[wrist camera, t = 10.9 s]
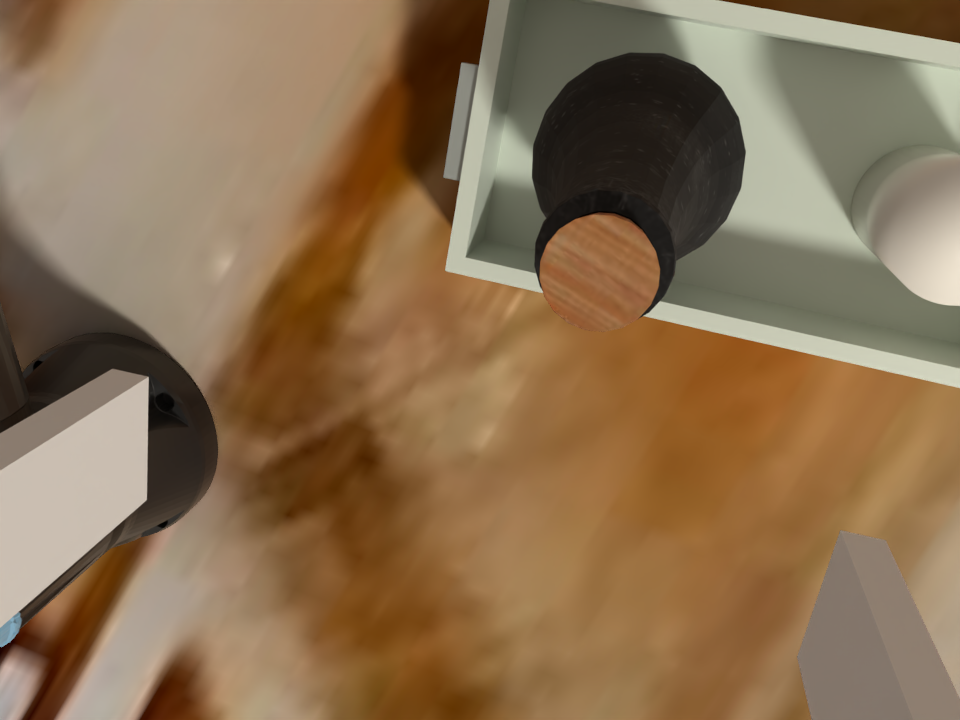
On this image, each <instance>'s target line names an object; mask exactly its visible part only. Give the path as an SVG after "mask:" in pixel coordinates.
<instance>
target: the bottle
mask: <svg viewBox="0 0 960 720" xmlns="http://www.w3.org/2000/svg"><path fill="white" fill-rule="evenodd" d="M745 155H746V150H745V145H744V140H743V135H742V130H741V125H740V120H739V117H738V115H737V113H736V112H735V110H734V108H733V107H732V105H731V103H730V101H729V100H728V98H727V96H726V95H725V93H724V91H723V89H722V88H721V87H720V86H719V85H718V84H717V83H716V82H715V81H713V80H712V79H711V78H710V77H709V76H707V75H706V74H705V73H704V72H703V71H701V70H700V69H699V68H698V67H697V66H696V65H693V64H691V63H688V62H685V61H683V60H680V59H677V58H675V57H672V56H669V55H667V54H664V53H635V52H629V53H626V54H623V55H619V56H616V57H613V58H610V59H606V60H603V61H600V62H597V63H595V64H593V65H592V66H591V67H589V68H588V69H586V70H585V71H583V72H582V73H581V74H579V75H578V76H576V77H575V78H573V79H572V80H571V81H569V82H568V83H567V84H566V85H565V86H564V88H563V89H562V90H561V91H560V93H559V94H558V95H557V97H556V98H555V99H554V101H553V102H552V103H551V104H550V106H549V107H548V108H547V110H546V111H545V114H544V117H543V119H542V122H541V125H540V127H539V130H538V133H537V136H536V138H535V141H534V144H533V161H532V180H533V184H534V188H535V191H536V195H537V199H538V203H539V206H540V209H541V211H542V212H543V214H544V215H545V217H546V219H545V220H544V221H543V224H542V226H541V229H540V232H539V234H538V237H537V239H536V242H535V260H534V267H535V271H536V274H537V278H538V282H539V285H540V288H541V289H542V291H543V294H544V297H545V298H546V300H547V301H548V303H549V304H550V306H551V308H552V309H553V311H554V312H555V313H556V314H558V315H559V316H560V317H561V318H563V319H564V320H565V321H566V322H567V323H569V324H571V325H574V326H576V327H579V328H581V329H584V330H589V331H601V332H605V331H610V330H614V329H619V328H623V327H624V326H626V325H628V324H630V323H632V322H633V321H635V320H637V319H639V318H640V317H642V316H644V315H646V314H647V313H649V312H650V311H651V310H652V309H653V308H654V307H655V306H656V305H657V304H658V303H659V301H660V300H661V299H662V298H663V297H664V296H665V295H666V293H667V290H668V288H669V286H670V284H671V282H672V279H673V277H674V275H675V268H676V261H677V260H679V259H680V258H682V257H684V256H686V255H687V254H689V253H691V252H692V251H694V250H696V249H698V248H699V247H701V246H703V245H704V244H705V243H706V242H707V241H708V240H709V238H710V237H711V236H712V235H713V234H714V233H715V232H716V231H717V230H718V229H719V228H720V226H721V225H722V224H723V223H724V222H725V221H726V220H727V218H728V216H729V213H730V211H731V209H732V207H733V205H734V203H735V201H736V198H737V196H738V194H739V192H740V190H741V186H742V178H743V171H744V163H745Z"/></svg>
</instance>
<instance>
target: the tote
mask: <svg viewBox="0 0 960 720" xmlns="http://www.w3.org/2000/svg"><path fill="white" fill-rule="evenodd" d="M629 52H635V53H664V54H667V55H669V56H672V57H675V58H677V59H680V60H683V61H685V62H688V63H691V64H693V65H696V66H697V67H698V68H699V69H700V70H701V71H703V72H704V73H705V74H706V75H707V76H709V77H710V78H711V79H712V80H713V81H715V82H716V83H717V84H718V85H719V86H720V87H721V88H722V89H723V91H724V93H725V95H726V96H727V98H728V100H729V101H730V103H731V105H732V107H733V108H734V110H735V112H736V113H737V115H738V117H739V120H740V125H741V130H742V135H743V140H744V145H745V150H746V155H745V163H744V171H743V178H742V186H741V190H740V192H739V194H738V196H737V198H736V201H735V203H734V205H733V207H732V209H731V211H730V213H729V216H728V218H727V220H726V221H725V222H724V223H723V224H722V225H721V226H720V228H719V229H718V230H717V231H716V232H715V233H714V234H713V235H712V236H711V237H710V238H709V240H708V241H707V242H706V243H705V244H704V245H703V246H701V247H699V248H698V249H696V250H694V251H692V252H691V253H689V254H687V255H686V256H684V257H682V258H680V259H679V260H677V261H676V268H675V275H674V277H673V279H672V282H671V284H670V286H669V288H668V290H667V293H666V295H665V296H664V297H663V298H662V299H661V300H660V301H659V303H658V304H657V305H656V306H655V307H654V308H653V309H652V310H651V311H650V312H649V313H647V314H646V315H644V316H646V317H650V318H655V319H659V320H664V321H668V322H672V323H677V324H681V325H686V326H690V327H694V328H699V329H703V330H708V331H712V332H716V333H721V334H725V335H730V336H734V337H738V338H743V339H747V340H752V341H756V342H760V343H765V344H769V345H773V346H778V347H782V348H787V349H791V350H795V351H800V352H804V353H809V354H813V355H817V356H822V357H826V358H831V359H835V360H839V361H844V362H848V363H853V364H857V365H861V366H866V367H870V368H875V369H879V370H883V371H888V372H892V373H897V374H901V375H905V376H910V377H914V378H919V379H923V380H927V381H932V382H936V383H940V384H945V385H949V386H954V387H958V388H960V306H952V305H943V304H938V303H934V302H931V301H928V300H926V299H923V298H921V297H920V296H918V295H916V294H915V293H913V292H912V291H911V290H909V289H908V288H907V287H906V286H905V285H904V284H903V283H902V282H901V281H900V280H899V279H898V278H897V277H896V276H895V275H894V274H893V273H892V272H891V271H890V270H889V269H888V268H887V267H886V266H885V265H884V264H883V263H882V262H881V261H880V260H879V259H878V258H877V257H876V256H875V255H874V254H873V253H872V252H871V251H870V250H869V249H868V248H867V247H866V246H865V245H864V244H863V243H862V241H861V240H860V239H859V237H858V235H857V233H856V231H855V229H854V226H853V223H852V217H851V204H852V198H853V194H854V191H855V189H856V186H857V184H858V182H859V181H860V179H861V177H862V176H863V175H864V173H865V172H866V171H867V170H868V169H869V167H870V166H871V165H872V164H874V163H875V162H876V161H877V160H878V159H880V158H881V157H883V156H884V155H886V154H888V153H890V152H892V151H894V150H897V149H899V148H903V147H907V146H912V145H933V146H938V147H942V148H945V149H948V150H951V151H953V152H956V153H959V154H960V43H955V42H950V41H944V40H938V39H933V38H927V37H921V36H916V35H910V34H905V33H899V32H893V31H888V30H882V29H876V28H871V27H865V26H860V25H854V24H848V23H843V22H837V21H831V20H826V19H820V18H815V17H809V16H803V15H798V14H792V13H786V12H781V11H775V10H770V9H764V8H758V7H753V6H747V5H741V4H736V3H730V2H725V1H719V0H490V2H489V8H488V14H487V20H486V26H485V32H484V38H483V44H482V50H481V56H480V62H479V65H476V64H471V63H466V62H463V63H461V68H460V75H459V81H458V87H457V94H456V100H455V106H454V113H453V119H452V126H451V132H450V138H449V145H448V151H447V157H446V164H445V170H444V176H443V178H448V179H452V180H457V181H460V184H459V190H458V196H457V202H456V208H455V214H454V220H453V226H452V232H451V238H450V245H449V251H448V257H447V263H446V269H445V271H448V272H453V273H457V274H461V275H466V276H470V277H475V278H479V279H483V280H488V281H492V282H497V283H501V284H505V285H510V286H514V287H519V288H523V289H527V290H532V291H536V292H541V293H543V291H542V289H541V288H540V285H539V282H538V278H537V274H536V271H535V267H534V260H535V242H536V239H537V237H538V234H539V232H540V229H541V226H542V224H543V221H544V220H545V219H546V217H545V215H544V214H543V212H542V211H541V209H540V206H539V203H538V199H537V195H536V191H535V188H534V184H533V180H532V161H533V144H534V141H535V138H536V136H537V133H538V130H539V127H540V125H541V122H542V119H543V117H544V114H545V111H546V110H547V108H548V107H549V106H550V104H551V103H552V102H553V101H554V99H555V98H556V97H557V95H558V94H559V93H560V91H561V90H562V89H563V88H564V86H565V85H566V84H567V83H568V82H569V81H571V80H572V79H573V78H575V77H576V76H578V75H579V74H581V73H582V72H583V71H585V70H586V69H588V68H589V67H591V66H592V65H593V64H595V63H597V62H600V61H603V60H606V59H610V58H613V57H616V56H619V55H623V54H626V53H629Z"/></svg>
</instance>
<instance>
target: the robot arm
mask: <svg viewBox="0 0 960 720" xmlns="http://www.w3.org/2000/svg"><path fill="white" fill-rule="evenodd" d="M217 458H218V443H217V435H216V430H215V426H214V422H213V419H212V416H211V413H210V411H209V408H208V406H207V404H206V402H205V400H204V398H203V396H202V395H201V393H200V391H199V390H198V388H197V387H196V385H195V384H194V383H193V382H192V380H191V379H190V378H189V377H188V375H187V374H186V373H185V372H184V371H183V370H182V369H181V368H180V367H179V366H178V365H177V364H176V363H175V362H173V361H172V360H171V359H170V358H168V357H167V356H166V355H164V354H163V353H161V352H160V351H158V350H157V349H155V348H153V347H151V346H150V345H148V344H146V343H143V342H141V341H139V340H136V339H133V338H130V337H127V336H123V335H118V334H111V333H93V334H86V335H82V336H78V337H75V338H72V339H70V340H68V341H66V342H64V343H62V344H60V345H57V346H55V347H53V348H51V349H49V350H47V351H46V352H44V353H43V354H41V355H40V356H39V357H37V358H36V359H35V360H34V361H33V362H32V363H31V364H30V365H29V366H28V367H27V368H26V369H25V370H24V372H23V373H22V371H21V368H20V365H19V361H18V358H17V355H16V352H15V349H14V345H13V342H12V339H11V336H10V332H9V329H8V326H7V323H6V319H5V316H4V313H3V310H2V307H1V303H0V647H2V646H4V645H6V644H7V643H9V642H10V641H11V640H12V639H13V638H14V637H15V636H16V634H17V633H18V632H19V629H20V628H22V627H23V626H24V625H25V624H26V623H27V622H28V621H29V620H31V619H32V618H33V617H34V616H35V615H36V614H37V613H38V612H39V611H41V610H42V609H43V608H44V607H45V606H46V605H47V604H48V603H50V602H51V601H52V600H53V599H54V598H55V597H56V596H57V595H59V594H60V593H61V592H62V591H63V590H64V589H65V588H66V587H67V586H69V585H70V584H71V583H72V582H73V581H74V580H75V579H76V578H78V577H79V576H80V575H81V574H82V573H83V572H84V571H85V570H87V569H88V568H89V567H90V566H91V565H92V564H93V563H94V562H95V561H97V560H98V558H100V557H101V556H102V555H103V554H104V553H105V552H107V551H108V550H109V549H110V548H113V547H116V546H119V545H122V544H125V543H128V542H131V541H134V540H136V539H138V538H140V537H143V536H148V535H151V534H154V533H157V532H159V531H162V530H164V529H166V528H168V527H169V526H171V525H173V524H174V523H176V522H177V521H178V520H180V519H181V518H182V517H183V516H184V515H185V514H186V513H187V512H189V511H190V510H191V509H192V508H193V507H194V506H195V505H196V504H197V503H198V502H199V501H200V500H201V499H202V497H203V496H204V495H205V493H206V492H207V490H208V488H209V486H210V484H211V482H212V480H213V477H214V474H215V470H216V465H217ZM797 658H798V662H799V667H800V671H801V675H802V680H803V684H804V688H805V693H806V697H807V701H808V706H809V710H810V714H811V719H812V720H960V698H959V696H958V694H957V692H956V690H955V688H954V686H953V683H952V681H951V679H950V677H949V675H948V673H947V671H946V668H945V666H944V664H943V662H942V660H941V658H940V656H939V654H938V651H937V649H936V647H935V645H934V643H933V641H932V639H931V636H930V634H929V632H928V630H927V628H926V626H925V624H924V622H923V619H922V617H921V615H920V613H919V611H918V609H917V607H916V604H915V602H914V600H913V598H912V596H911V594H910V592H909V589H908V587H907V585H906V583H905V581H904V579H903V577H902V575H901V572H900V570H899V568H898V566H897V564H896V562H895V560H894V557H893V555H892V553H891V551H890V549H889V547H888V545H887V542H886V540H882V539H877V538H873V537H868V536H864V535H859V534H855V533H850V532H846V531H841V530H840V533H839V536H838V539H837V542H836V545H835V548H834V551H833V554H832V557H831V559H830V562H829V565H828V568H827V571H826V574H825V577H824V580H823V583H822V586H821V589H820V592H819V595H818V598H817V601H816V603H815V606H814V609H813V612H812V615H811V618H810V621H809V624H808V627H807V630H806V633H805V636H804V639H803V642H802V645H801V648H800V650H799V653H798V656H797Z"/></svg>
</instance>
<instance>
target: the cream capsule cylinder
mask: <svg viewBox="0 0 960 720" xmlns="http://www.w3.org/2000/svg"><path fill="white" fill-rule="evenodd" d="M851 217H852V223H853V226H854V229H855V231H856V233H857V235H858V237H859V239H860V240H861V241H862V243H863V244H864V245H865V246H866V247H867V248H868V249H869V250H870V251H871V252H872V253H873V254H874V255H875V256H876V257H877V258H878V259H879V260H880V261H881V262H882V263H883V264H884V265H885V266H886V267H887V268H888V269H889V270H890V271H891V272H892V273H893V274H894V275H895V276H896V277H897V278H898V279H899V280H900V281H901V282H902V283H903V284H904V285H905V286H906V287H907V288H908V289H909V290H911V291H912V292H913V293H915V294H916V295H918V296H920V297H921V298H923V299H926V300H928V301H931V302H934V303H938V304H943V305H952V306H960V154H959V153H956V152H953V151H951V150H948V149H945V148H942V147H938V146H933V145H912V146H907V147H903V148H899V149H897V150H894V151H892V152H890V153H888V154H886V155H884V156H883V157H881V158H880V159H878V160H877V161H876V162H875V163H874V164H872V165H871V166H870V167H869V169H868V170H867V171H866V172H865V173H864V175H863V176H862V177H861V179H860V181H859V182H858V184H857V186H856V189H855V191H854V194H853V198H852V204H851Z"/></svg>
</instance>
